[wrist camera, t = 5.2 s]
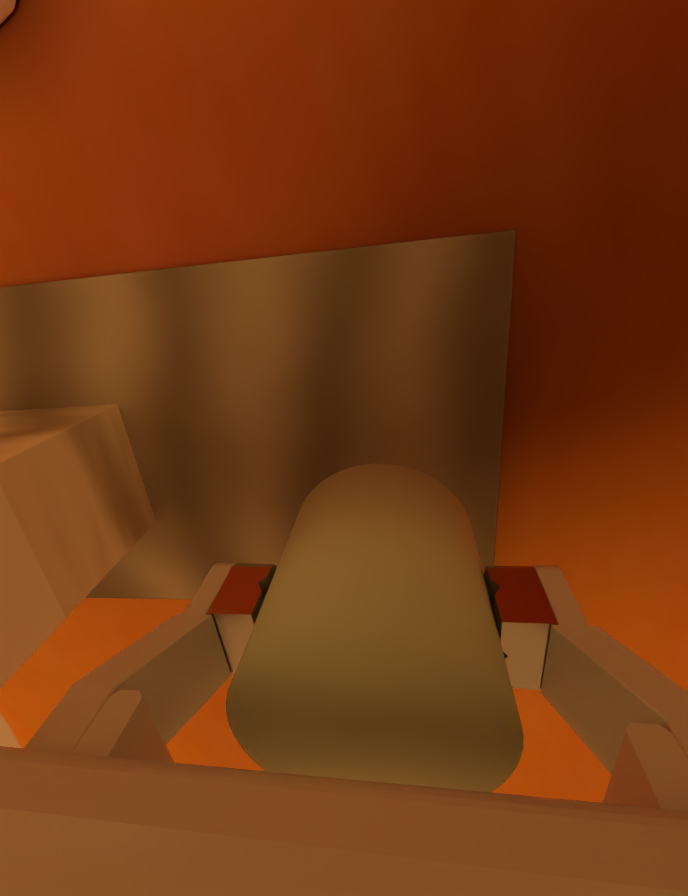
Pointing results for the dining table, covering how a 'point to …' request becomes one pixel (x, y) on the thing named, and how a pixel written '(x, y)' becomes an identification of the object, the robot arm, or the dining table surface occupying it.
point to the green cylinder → (378, 644)
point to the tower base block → (73, 492)
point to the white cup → (6, 8)
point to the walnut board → (275, 386)
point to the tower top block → (22, 597)
